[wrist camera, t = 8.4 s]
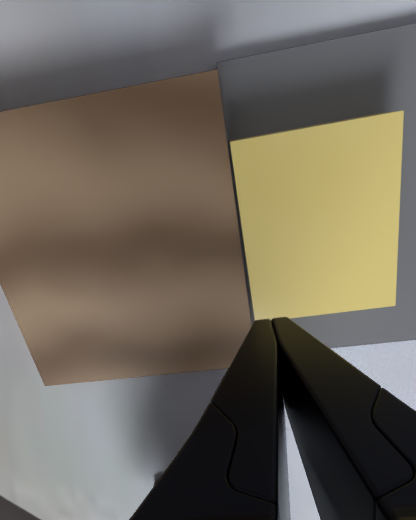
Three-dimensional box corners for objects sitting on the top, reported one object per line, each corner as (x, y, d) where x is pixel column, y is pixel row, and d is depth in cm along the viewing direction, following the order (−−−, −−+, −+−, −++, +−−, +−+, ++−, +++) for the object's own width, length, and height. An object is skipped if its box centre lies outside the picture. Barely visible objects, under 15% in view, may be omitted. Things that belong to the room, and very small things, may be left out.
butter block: (377, 287, 18) (395, 305, 16) (252, 303, 19) (255, 322, 17) (381, 112, 15) (403, 110, 13) (229, 140, 16) (229, 141, 14)
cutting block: (253, 344, 20) (256, 365, 19) (60, 364, 22) (44, 385, 20) (218, 77, 15) (217, 69, 13) (-36, 125, 16) (-70, 125, 14)
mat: (510, 324, 19) (517, 329, 19) (254, 350, 21) (255, 355, 20) (578, -7, 13) (591, -12, 13) (216, 64, 15) (216, 62, 14)
